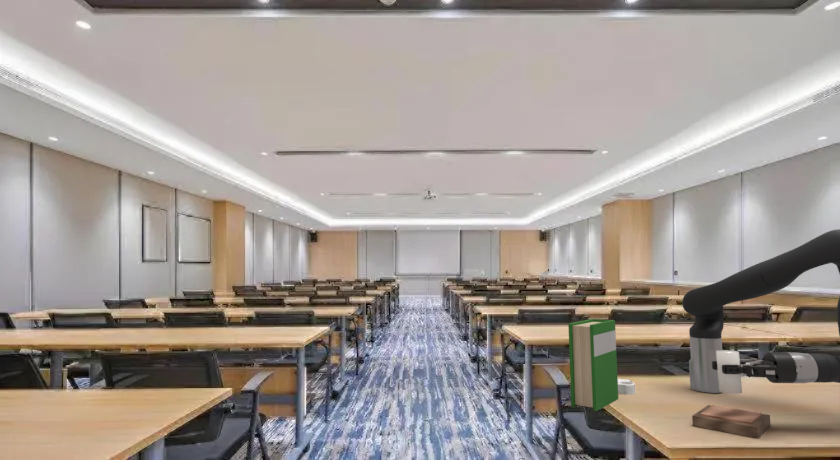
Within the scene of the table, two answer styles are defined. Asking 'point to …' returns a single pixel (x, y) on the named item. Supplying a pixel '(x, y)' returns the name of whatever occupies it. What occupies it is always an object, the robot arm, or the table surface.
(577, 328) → the hardback book
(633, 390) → the white brass knuckles
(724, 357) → the ceramic cylinder
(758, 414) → the walnut base
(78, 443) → the table surface
